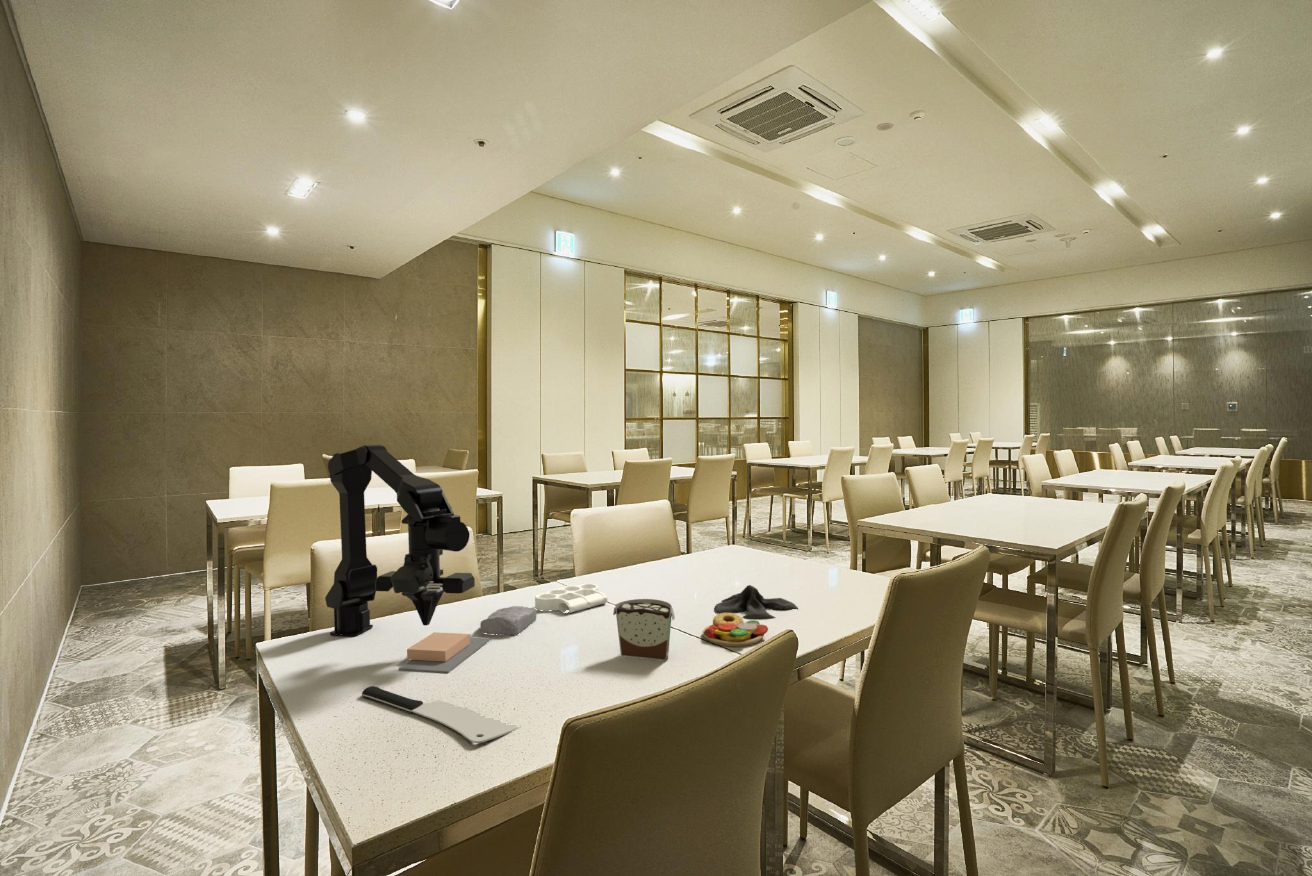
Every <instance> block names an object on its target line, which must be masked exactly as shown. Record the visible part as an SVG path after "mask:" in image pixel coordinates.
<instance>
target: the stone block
mask: <svg viewBox="0 0 1312 876" xmlns="http://www.w3.org/2000/svg"><path fill="white" fill-rule="evenodd" d="M536 620H537V610H536V609H535V607H528V606H522V605H521V606H520V605H513V606H512V605H511V606H509V607H503V608H499V609H497V610H496V611H493V612H492V613H490V614H489V615H488V617H487V618H484V619H483V620H482V621H480V627H479V628H480V630H481V633H482V634H483V633H487V634H494V635H493V636H514V635H516V636H519V635H520V634H521V633H522V632H524V631H525V630H526V629H528V628H529V627H530V626H531V625H533V624H534V623H533V622H536ZM530 624H531V625H530ZM529 625H530V626H529ZM528 626H529V627H528ZM523 630H524V631H523ZM519 633H520V634H519ZM487 634H486V635H487ZM496 634H497V635H496ZM518 634H519V635H518Z"/></svg>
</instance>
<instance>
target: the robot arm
mask: <svg viewBox="0 0 1312 876" xmlns="http://www.w3.org/2000/svg"><path fill="white" fill-rule="evenodd" d="M327 469H328V472H329V478H330V483H331V484H332V486H333V487H334V488H335V490H336V491H337V492H338V494H339V495H338V496H339V515H340V516H339V518H340V520H339V521H340V522H339V523H340V540H341V541H340V543H341V544H340V545H341V560H340V562H339V564H338V566H337V567H336V569H335V571H334V577H333V584H332V585H331V588H330V589H329V591H328V592H327V593H326V595H325V597H324V601H325V603H326V607H327V608H330V609H333V623H334V624H333V626H334V628H333V629H334V630H332V631H330V632H329V635H330V636H343V637H344V636H347V637H356V636H359V635H361V634H363V633H365V632H366V631H368V630H370V629H372V628H373V627H374V625H373V624H371V616H370V615H371V612H370V611H371V610H370V608H369V602H373V601H375V598H376V597H375V596H376V593H377V592H390V591H391V590H392V589H393V593H395V594H400V593H401V595H402V596H404V597H407V598H408V599H409V600H411V602H412V604H413V606H414V608H415V610H416V611H417V614H418V616H419V619H420V620H421V624H422V626H429V625H430V623H431V621H432V618H433V616H434V614H435V611H436V609H437V606H438V604H439V601H440V600H441V598H442V595H443V594H444V593H445V594H459V595H460V594H463V593H466V592H467V591H468V590H471V589H472V588H474V587H475V585H476V581H475V577H474V575H473V574H472V572H454V573H451V574H449V575H448V576H446V577H445V576H444V569H441V566H440V564H441V562H440V560H441V559H440V556H442V555H444V551H449V552H454V553H455V552H456V553H457V552H460V551H462V550H464V549H465V548H466V547H467V545H468V543H469V540H470V531H469V528H468V525H466V524H465V523H464V522H462V521H461V516H460V515H459V514H455V513H454V511H453V507H452V506H451V504H450V503H449V501H448V499H447V498H446V496H445V493H444V491H443V489H442V487H441V485H439V483H437V482H436V481H433V480H431V479H429V478H425V477H423V476H418V475H416V474H415V473H413V471H411V470H410V469H409V468H407V467H406V466H405V465H404V464H403V463H401V462H400V461H399V459H397V458H395V457H394V456H393V455H392V454H391V453H390V452H388V449H387V448H386V446H384V445H382V444H369V445H367V444H366V445H362V446H359V447H357V448H355V449H352V450H349V451H345V452H336V453H334V454H333V455H332V457H331V458H330V459H329V460H328V463H327ZM373 473H374V474H375V475H376V476H378V478H380V480H382V481H383V482H384V483H385V484H386V485H387V486H389V487H390V488H391V489H392V490H393V491H394V492H395V493H396V502H397V503H398V504H399V506H400V508H402V510H404V512H405V513H406V514H407V515H405V517H403V518H402V519H401V521H400V522H401V524H404V525H407V531H408V532H407V535H408V538H407V539H408V553H406V554H404V560H403V561H404V562H403V565H402V566H400V567H398V569H397V570H396V571H393V570H391V571H388V572H386V573H384V574H383V573H382V574H381V575H379V576H378V567H377V564H373V563H372V562H371V561H370V559H369V558H368V555H367V552H368V551H367V533H366V532H367V530H366V529H367V528H366V504H365V492H366V490H367V487H368V486H369V485H370V483H371V481H372V475H373ZM441 576H444V577H441Z"/></svg>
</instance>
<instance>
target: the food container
mask: <svg viewBox="0 0 1312 876" xmlns="http://www.w3.org/2000/svg"><path fill="white" fill-rule="evenodd" d="M614 606H615V607H614V608H613V614H612V615H613V616H615V617H616V623H617V624H616V625H617V632H618V633H617V634H618V641H619V651H620V657H624V656H625V657H626V658H635V659H642V658H643V659H644V660H653V661H661V662H662V661H663V662H668V660H669V654H670V652H669V651H670V639H671V627H672V621H675V618H676V616H675V612H674V608H673V606H672V604H671V603H670V602H668V601H664V600H661V599H655V598H654V599H653V598H635V599H627V600H624V601H623V600H622V601H620V602H617V603H616V604H615V605H614Z"/></svg>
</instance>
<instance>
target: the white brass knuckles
mask: <svg viewBox="0 0 1312 876" xmlns="http://www.w3.org/2000/svg"><path fill="white" fill-rule="evenodd" d="M607 603H608V597H607V595H606V594H605V593H604V592H601V591H600V590H599V586H598V585H597V584H595V583H582V584H577V585H566V586H562V587H560V588H559V587H558V588H553V589H549V590H547V591H545V592H543V593H538V594H536V595H535V596H534V608H536V609H537V610H536V611H538V610H543V611H542V612H550V611H549V610H560V611H559V612H561V613H563V612H565V611H566V610H569V612H568V613H566V614H568V615H569V614H571V613H573V612H575V613H576V612H578V611H582V610H587V608H588V609H589V608H594V607H597V606H602V605H605V604H607ZM566 614H565V615H566Z"/></svg>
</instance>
